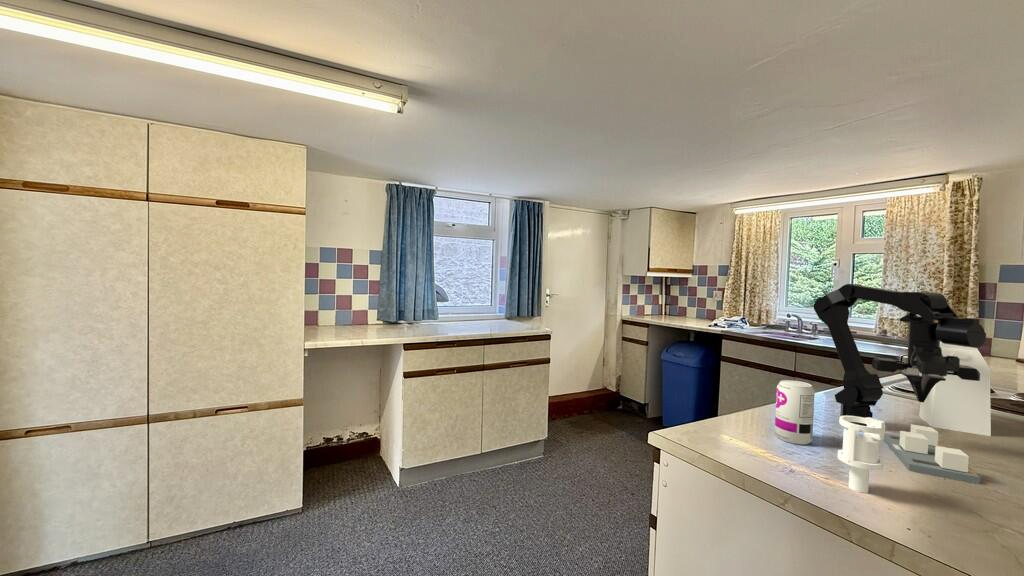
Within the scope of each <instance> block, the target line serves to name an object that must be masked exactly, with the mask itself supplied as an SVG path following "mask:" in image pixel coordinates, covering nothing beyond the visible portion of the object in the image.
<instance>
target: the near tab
mask: <svg viewBox="0 0 1024 576" xmlns="http://www.w3.org/2000/svg"><path fill="white" fill-rule="evenodd" d="M969 459H970V456H969V455H968V454H967V453H965V452H964V451H963V450H961V449H958V448H952V447H946V446H944V447H940V446H936V447H935V462H936V463H938V464H939V465H940V466H941V467H942V468H946V469H951V470H957V471H962V472H968V468H969Z"/></svg>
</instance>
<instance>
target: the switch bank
mask: <svg viewBox="0 0 1024 576" xmlns="http://www.w3.org/2000/svg"><path fill="white" fill-rule="evenodd" d="M882 441H883V442H884V444H885V445H888V446H887V447H888V449H890V451H891V452H892V453H893V452H894V453H893V454H894V455H895V456H896V457H897V458H898V460H899V461H900V462H901V463H902V465H904V467H905V468H906V469H907V470H908V471H910V472H915V473H920V474H924V475H925V474H926V475H930V476H936V477H940V478H945V479H946V478H947V479H951V480H955V481H961V482H967V483H971V484H972V483H973V484H976V485H980V483H981V482H980V481H981V480H980V479H981V476H979V475H978V474H977V473H976V472H975V471H973V470H972V469H971V468H969V467H968V472H962V471H957V470H951V469H946V468H942V467H941V466H940V465H939V464H938V463H936V462H935V447H936V446H932V445H928V454H923V453H917V452H912V451H906V450H904V449H903V448H902V447H901V446H900V445H899V444H900V434H892V433H886V432H885V433H884V440H882ZM938 446H940V447H945V446H944V445H942V444H941V443H940V442H938Z"/></svg>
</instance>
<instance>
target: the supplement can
mask: <svg viewBox="0 0 1024 576" xmlns="http://www.w3.org/2000/svg"><path fill="white" fill-rule="evenodd" d="M815 393H816V391H815V389H814V387H813V385H812V384H810V383H808V382H804V381H799V380H792V379H791V380H790V379H782V380H780V381H779V382H778V384H777V386H776V395H775V414H774V415H775V416H774V417H775V418H774V420H775V421H774V435H775V436H776V437H777V438H778V439H779V440H781V441H784V442H786V443H790V444H792V445H800V446H805V445H806V446H807V445H809V444H810V443H812V442H813V432H814V431H813V430H814V416H815V415H814V413H815V395H816V394H815Z"/></svg>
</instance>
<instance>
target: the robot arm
mask: <svg viewBox="0 0 1024 576" xmlns="http://www.w3.org/2000/svg"><path fill="white" fill-rule="evenodd" d="M858 300H864V301H870V302H875V303H878V304H879V303H881V304H885V305H891V306H893V307H896V308H898V309H899V310H900V311H904V312H907V313H906V315H904V316H902V317H900V318H899V319H898V320H899V322H903V323H904V322H905V323H908V339H907V340H908V341H907V343H906V347H907V357H906V360H905V362H898V361H897V360H895V359H894V358H887V357H885V358H884V357H874V358H873V359H872V361H871V368H873V369H875V370H876V371H878V372H879V371H880V372H886V373H895V372H896V371H899V374H900V375H902V376H904V377H906V378H907V381H908V382H909V384H910V386H911V388H912V391H913V392H914V395H915V398H916V399H917V401H918V402H919V403H921V402H924V401H925V399H926V398H927V396H928V394H929V393H930V391H931V389H932V388H933V387H934V385H935V384H936V383H938V382H939V381H945V380H946V379H945V378H943V377H944V376H947V374H948V375H957V376H958V377H960V378H961V379H964V380H973V381H980V373H979V371H978V370H977V369H975V368H973V367H970V366H965V365H960V359H959V358H958V357H957V356H946V357H944V356H943V355H942V350H941V347H940V342H942V343H944V344H949V345H957V346H965V347H972V348H977V349H978V348H980V347H982V346H983V344H984V343H985V341H986V337H987V332H985V329H984V327H983V325H982V324H980V318H977V317H976V318H975V317H974V318H973V317H970V318H969V317H962V318H961V317H959V316H958V314H957V313H956V312H955V311H954V310H953V309H952V307H951V306H950V305H949V304H948V300H947V298H946V296H945V295H944V294H942V293H940V292H935V291H934V292H931V291H930V292H929V291H927V292H926V291H900V290H899V291H898V290H893V289H892V290H891V289H886V288H880V287H873V286H868V285H862V284H860V283H846V284H844V285H842V286H841V287H839V288H838V289H835V290H834V291H831V292H829V293H826V294H825V295H823V296H821V297H817V299H816V300H815V301H814V303H813V310H814V312H815V314H816V315H817V317H818V319H819V320H821V322H823V323H824V325H826V326H827V328H828V330H829V331H828V332H829V333H830V336H831V338H832V341H833V344H834V347H835V349H836V351H837V354H838V358H839V359H840V360H839V361H840V363H841V365H842V367H843V371H844V374H843V379H842V385H843V389H841V390H840V391H839V392H837V393H835V394H834V399H835V402H836V403H838V404H840V411H839V412H840V416H857V417H863V418H867V417H869V418H870V417H871V418H873V416H874V413H873V411H872V410H871V406H872V407H874V406H876V405H877V402H878V401H879V400H880V399H881V398H882V396H883V395H884V392H883V389H884V388H885V387H884V385H882V384H881V381H880V380H881V379H880V376H879V375H878V374H877V373H870V372H869V371H868V370H867V368H866V367H865V364H864V361H863V359H862V357H861V354H860V351H859V349H858V345H857V344H856V342H855V339H854V336H853V334H852V332H851V328H850V326H849V322H848V321H849V317H850V309H849V308H851V307H853V306H854V305H855V304H856V302H858ZM920 374H921V375H920ZM840 416H839V417H840ZM850 423H853V424H857V425H861V426H867V424H864V423H858V422H850Z"/></svg>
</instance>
